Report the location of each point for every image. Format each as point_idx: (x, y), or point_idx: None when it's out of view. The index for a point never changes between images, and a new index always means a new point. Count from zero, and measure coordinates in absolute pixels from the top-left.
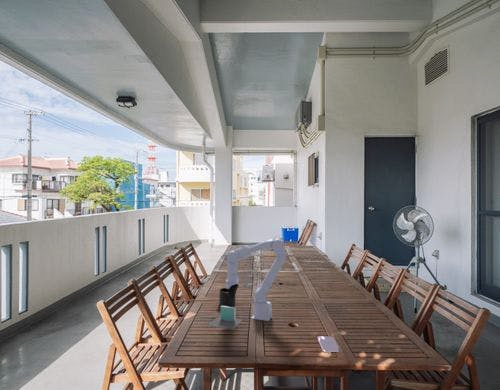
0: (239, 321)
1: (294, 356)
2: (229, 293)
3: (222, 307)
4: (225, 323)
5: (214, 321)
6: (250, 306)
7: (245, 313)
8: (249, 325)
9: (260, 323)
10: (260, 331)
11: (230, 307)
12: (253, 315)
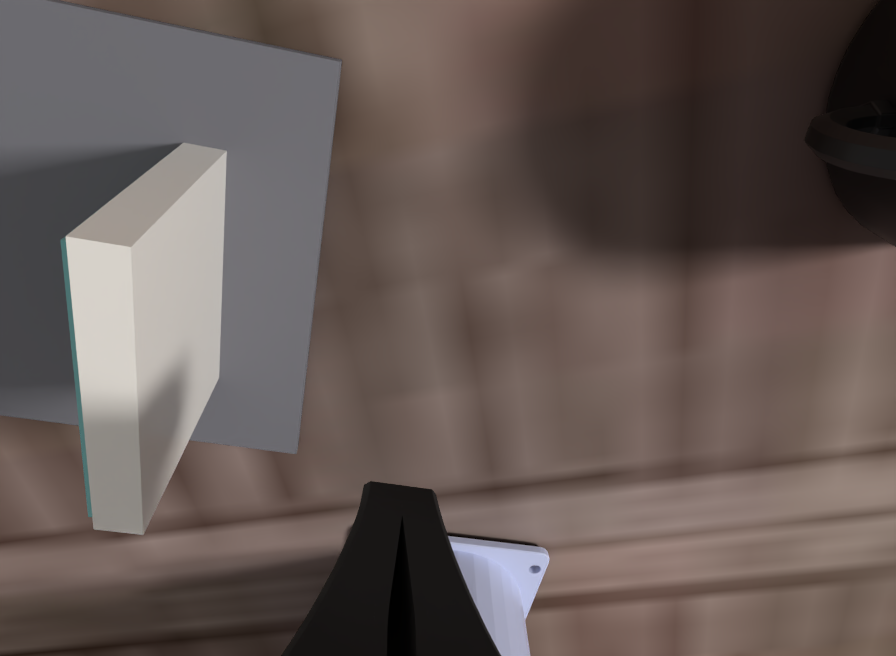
0: (214, 427)
1: None
2: (327, 591)
3: (70, 278)
4: (56, 261)
5: (49, 45)
6: (829, 457)
7: (551, 438)
8: (166, 530)
9: (265, 610)
10: (60, 630)
11: (100, 454)
12: (451, 544)
